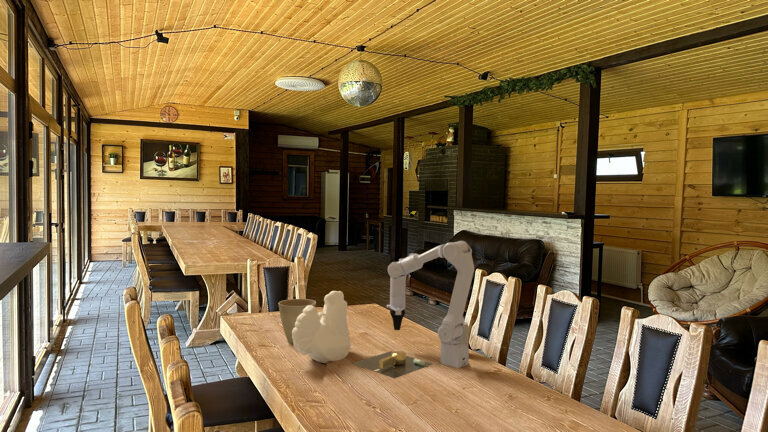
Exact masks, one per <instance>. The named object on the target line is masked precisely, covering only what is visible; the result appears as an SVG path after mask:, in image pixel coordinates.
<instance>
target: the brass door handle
mask: <svg viewBox="0 0 768 432" xmlns="http://www.w3.org/2000/svg"><path fill="white" fill-rule="evenodd" d="M406 356H407V353H406V352H405V351H402V350H396V351H395V350H394V351H393V352H392V356H389V357H386V358H384V359H381V360H379V367H380V368H385V367H387V366H390V365H392V364H395V365H403V364H405V363H406Z"/></svg>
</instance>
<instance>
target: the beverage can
mask: <svg viewBox="0 0 768 432" xmlns="http://www.w3.org/2000/svg"><path fill="white" fill-rule="evenodd" d="M464 328H465V332H464V334H463V336H461V342H462V343H463V344H464V345H466V346H467V347H468V348H469V341H470V340H469V335H470V327H469V323H468V322H467V321H464Z"/></svg>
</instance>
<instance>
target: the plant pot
mask: <svg viewBox="0 0 768 432" xmlns="http://www.w3.org/2000/svg"><path fill="white" fill-rule="evenodd" d="M277 304H278V311H279V316H280V321H281V324H282V325H281V326H282V329H283V332H284V335H285V338H286V340H287V342H288V343H289V344H293V345H294V343H293V339H292V330H293V329H294V328H295V322H296V319H297V317H298V316H299V315H300V314H301V313H303V312H302V311H303V309H304V308H305V307H306V306H308V305H312V306H314V307H315V308H316V305H317V302H316V300H313V299H308V298H291V299H285V300H281V301H279V302H278V303H277Z"/></svg>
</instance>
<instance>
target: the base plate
mask: <svg viewBox="0 0 768 432" xmlns="http://www.w3.org/2000/svg"><path fill="white" fill-rule="evenodd" d="M392 352H394V351H392V350H390V351H387V352H384V353H381V354H377V355H374V356H371V357H370V356H369V357H368V358H364V359H361V360H358V361H355V362H352V363H351V364H353V365H355V366H358V367H361V368H364V369H367V370H369V371H371V372H375V373H378V374H381V375H384V376H386V377H389V378H392V379H397V378H399V377H403V376H405V375H407V374H410V373H413V372H416V371H418V370H421V369H424V368H426V367H429V366H432V365H433V363H431V362H427V361H425V360H422V359H418V358H415V357H412V356H408V355H406V363H405V364H403V365H395V364H392V365H390V366H387V367H385V368H380V367H379V360H381V359H384V358H386V357H389V356H392Z"/></svg>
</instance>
